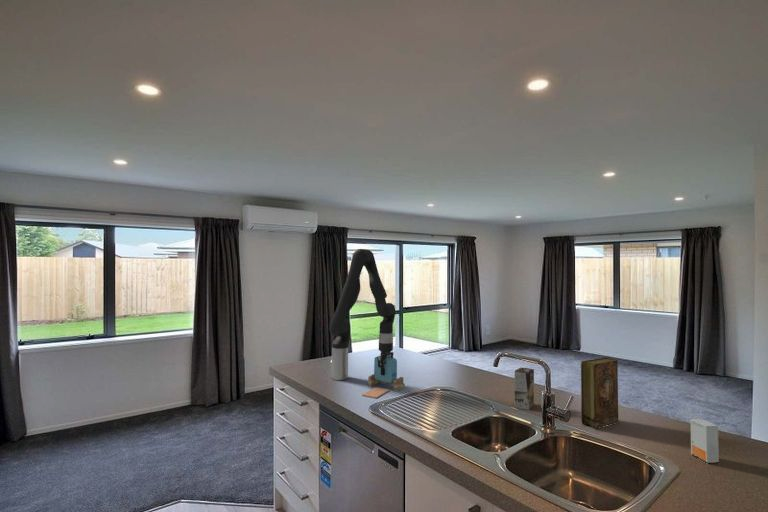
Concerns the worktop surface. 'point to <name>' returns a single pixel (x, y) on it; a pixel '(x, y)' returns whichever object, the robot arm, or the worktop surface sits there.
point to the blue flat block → (386, 370)
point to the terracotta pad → (375, 392)
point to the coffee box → (524, 388)
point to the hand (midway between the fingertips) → (385, 373)
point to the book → (599, 392)
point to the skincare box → (704, 440)
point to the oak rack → (397, 383)
